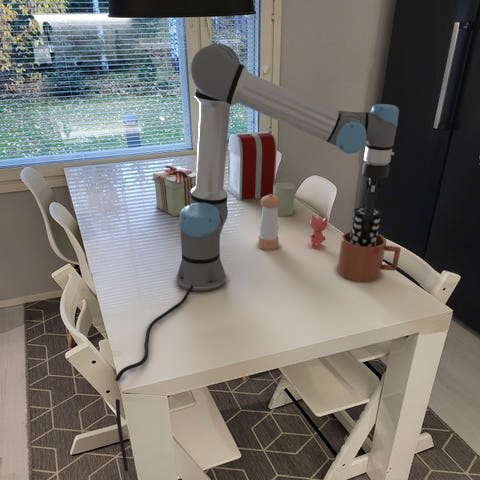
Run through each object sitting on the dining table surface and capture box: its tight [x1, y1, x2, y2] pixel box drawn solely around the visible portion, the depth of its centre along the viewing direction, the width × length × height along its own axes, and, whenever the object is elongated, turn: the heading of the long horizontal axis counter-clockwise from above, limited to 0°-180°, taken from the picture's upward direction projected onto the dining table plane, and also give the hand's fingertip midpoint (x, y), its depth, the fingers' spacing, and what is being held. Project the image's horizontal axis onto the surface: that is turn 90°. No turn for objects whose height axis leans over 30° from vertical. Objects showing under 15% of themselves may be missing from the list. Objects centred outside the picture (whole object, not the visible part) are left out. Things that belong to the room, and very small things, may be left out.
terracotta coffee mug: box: [336, 230, 402, 283], centre depth 156 cm, size 19×14×12 cm
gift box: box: [151, 165, 197, 217], centre depth 203 cm, size 17×18×17 cm
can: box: [273, 181, 296, 217], centre depth 204 cm, size 9×9×12 cm
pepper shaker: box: [257, 194, 281, 251], centre depth 172 cm, size 7×7×19 cm
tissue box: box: [227, 131, 278, 201], centre depth 222 cm, size 17×18×27 cm
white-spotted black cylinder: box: [350, 206, 383, 247], centre depth 154 cm, size 8×8×20 cm
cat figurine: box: [309, 213, 329, 250], centre depth 174 cm, size 7×7×12 cm
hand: (364, 231), depth 152 cm, fingers open, 13 cm apart
